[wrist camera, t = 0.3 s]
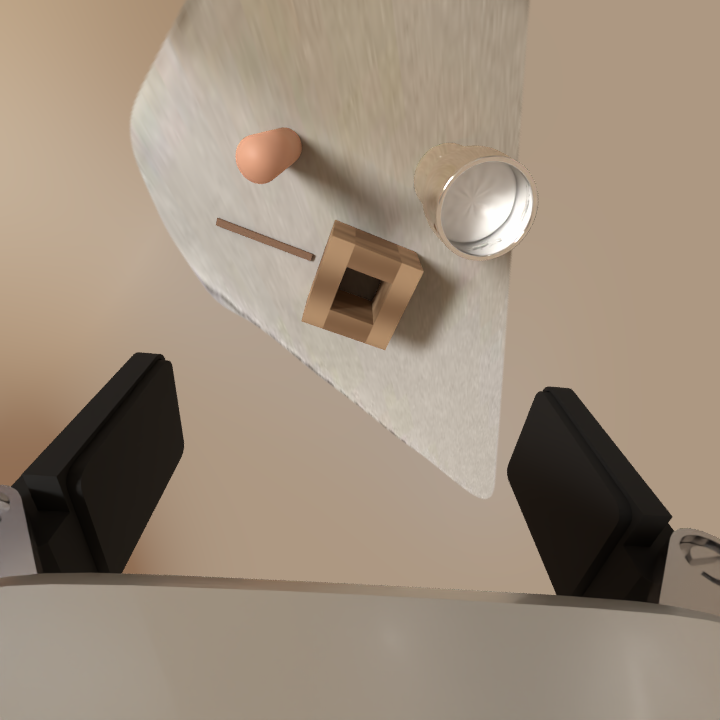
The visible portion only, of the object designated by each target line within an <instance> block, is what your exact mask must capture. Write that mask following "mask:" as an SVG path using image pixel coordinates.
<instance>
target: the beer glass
mask: <svg viewBox="0 0 720 720" xmlns="http://www.w3.org/2000/svg"><path fill="white" fill-rule="evenodd" d="M414 188H415V192H416V195H417V197H418V198H419V200H420V201H421V202H422V204H423V210H424V214H425V217H426V219H427V221H428V224H429V226H430V227H431V229H432V230H433V232H434V233H435V234H436V236H437V237H438V238H439V239H440V240H441V241H442V242H443V243H444V244H445V245H446V246H447V247H448V248H449V249H450V250H451V251H452V252H453V253H455V254H456V255H458V256H460V257H462V258H465V259H468V260H475V261H483V260H490V259H494V258H497V257H499V256H502V255H504V254H506V253H507V252H509V251H510V250H512V249H513V248H514V247H516V246H517V245H518V244H519V243H520V242H521V241H522V240H523V238H524V237H525V236H526V234H527V233H528V232H529V230H530V228H531V226H532V224H533V222H534V220H535V217H536V213H537V208H538V191H537V187H536V183H535V181H534V179H533V177H532V175H531V174H530V172H529V171H528V169H527V168H526V167H525V166H523V165H522V164H521V163H520V162H518V161H516V160H514V159H512V158H511V157H509V156H508V155H506V154H504V153H502V152H500V151H498V150H496V149H493V148H490V147H485V146H477V145H472V146H465V147H464V146H462V145H459V144H456V143H443V144H439V145H437V146H435V147H433V148H431V149H430V150H428V151H427V152H426V153H425V154H424V155H423V157H422V158H421V159H420V161H419V163H418V165H417V167H416V170H415V174H414Z"/></svg>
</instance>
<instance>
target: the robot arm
mask: <svg viewBox="0 0 720 720" xmlns="http://www.w3.org/2000/svg"><path fill="white" fill-rule="evenodd" d="M183 450H184V440H183V433H182V426H181V420H180V414H179V407H178V400H177V394H176V387H175V381H174V374H173V367H172V364H171V362H170V361H166V360H165V358H164V356H163V355H161V354H152V353H135V354H134V355H133V356H132V357H131V358H130V359H129V360H128V361H127V362H126V363H125V364H124V366H123V367H122V368H121V369H120V370H119V371H118V372H117V373H116V374H115V375H114V376H113V378H111V379H110V381H109V382H108V383H107V384H106V385H105V386H104V387H103V388H102V389H101V390H100V391H99V392H98V394H96V396H95V397H94V398H93V399H92V400H91V401H90V402H89V403H88V404H87V405H86V406H85V407H84V408H83V409H82V410H81V412H80V413H79V414H78V415H77V416H76V417H75V418H74V419H73V420H72V421H71V422H70V423H69V425H67V427H66V428H65V429H64V430H63V431H62V432H61V433H60V434H59V435H58V436H57V437H56V438H55V439H54V440H53V442H52V443H51V444H50V445H49V446H48V447H47V448H46V449H45V450H44V451H43V452H42V453H41V454H40V455H39V457H38V458H37V459H36V460H35V461H34V462H33V463H32V464H31V465H30V466H29V467H28V468H27V469H26V470H25V471H24V473H23V474H22V475H21V477H20V478H19V479H18V480H17V481H16V482H15V483H14V484H13V485H12V486H11V487H10V486H6V485H0V720H720V539H719V538H717V537H715V536H713V535H710V534H708V533H705V532H703V531H699V530H695V529H691V528H681V529H678V530H676V531H674V530H673V529H672V528H671V526H670V525H669V524H668V522H669V521H670V519H671V518H672V515H671V514H670V513H669V512H668V510H667V509H666V508H665V507H664V506H663V504H662V503H661V502H660V500H659V499H658V498H657V497H656V495H655V494H654V493H653V492H652V490H651V489H650V488H649V486H648V485H647V484H646V483H645V481H644V480H643V479H642V478H641V476H640V475H639V474H638V472H637V471H636V470H635V469H634V467H633V466H632V465H631V464H630V462H629V461H628V460H627V458H626V457H625V456H624V455H623V454H622V452H621V451H620V450H619V448H618V447H617V446H616V445H615V443H614V442H613V441H612V440H611V438H610V437H609V436H608V434H607V433H606V432H605V431H604V429H602V427H601V426H600V425H599V423H598V422H597V420H596V419H595V418H594V417H593V415H592V414H591V413H590V412H589V410H588V409H587V408H586V407H585V405H584V404H583V403H582V401H581V400H580V399H579V398H578V396H577V395H576V394H575V393H574V391H573V390H571V389H569V388H560V387H546V388H545V389H544V390H543V391H540V392H538V393H537V394H536V396H535V398H534V401H533V403H532V406H531V408H530V411H529V413H528V416H527V419H526V421H525V424H524V426H523V429H522V431H521V434H520V436H519V439H518V442H517V444H516V446H515V449H514V452H513V454H512V457H511V459H510V462H509V464H508V468H507V476H508V480H509V482H510V485H511V487H512V489H513V492H514V494H515V497H516V499H517V501H518V504H519V506H520V509H521V511H522V513H523V516H524V518H525V521H526V523H527V525H528V528H529V530H530V532H531V535H532V537H533V539H534V542H535V544H536V547H537V549H538V552H539V554H540V556H541V559H542V561H543V563H544V566H545V568H546V571H547V573H548V575H549V578H550V580H551V583H552V585H553V587H554V590H555V592H556V595H543V594H525V593H508V592H492V591H474V590H455V589H440V588H421V587H401V586H383V585H363V584H345V583H326V582H305V581H286V580H264V579H243V578H222V577H201V576H178V575H150V574H149V575H148V574H121V573H122V572H123V570H124V568H125V566H126V564H127V562H128V560H129V558H130V556H131V554H132V552H133V550H134V548H135V546H136V544H137V543H138V541H139V539H140V537H141V535H142V533H143V531H144V529H145V527H146V525H147V523H148V521H149V519H150V517H151V515H152V513H153V511H154V509H155V507H156V505H157V504H158V501H159V500H160V498H161V496H162V494H163V492H164V490H165V488H166V486H167V484H168V482H169V480H170V478H171V476H172V474H173V472H174V470H175V468H176V467H177V465H178V463H179V461H180V459H181V457H182V454H183Z"/></svg>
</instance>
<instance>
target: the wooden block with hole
mask: <svg viewBox="0 0 720 720" xmlns="http://www.w3.org/2000/svg"><path fill="white" fill-rule="evenodd" d="M346 267H348V268H351V269H353V270H356V271H359V272H361V273H364V274H366V275H369V276H372V277H374V278H377V279H380V280H381V282H380V284H379V286H378V288H377V291H376V293H375V295H374V298H373V300H372V301H370V300H367V299H365V298H362V297H359V296H357V295H354V294H351V293H348V292H346V291H343V290H340V289H338V287H339V285H340V282H341V280H342V277H343V275H344V272H345V269H346ZM423 272H424V271H423V269H422V266H421V264H420V261H419V258H418V256H417V253H416V252H414V251H411V250H409V249H407V248H404V247H402V246H399V245H397V244H394V243H392V242H389V241H387V240H384V239H382V238H379V237H377V236H374V235H372V234H369V233H367V232H364V231H362V230H359V229H357V228H354V227H352V226H349V225H347V224H344V223H342V222H340V221H337V220H335V222H334V225H333V228H332V230H331V233H330V236H329V239H328V242H327V245H326V247H325V250H324V253H323V256H322V259H321V262H320V264H319V267H318V270H317V273H316V276H315V279H314V281H313V284H312V287H311V290H310V293H309V296H308V299H307V302H306V306H305V310H304V313H303V317H302V322H305V323H308V324H311V325H314V326H317V327H320V328H323V329H326V330H328V331H331V332H334V333H337V334H340V335H343V336H346V337H349V338H352V339H354V340H357V341H360V342H363V343H366V344H369V345H372V346H375V347H377V348H380V349H383V350H385V349H386V347H387V345H388V343H389V341H390V339H391V337H392V335H393V333H394V331H395V329H396V327H397V325H398V323H399V321H400V319H401V317H402V315H403V313H404V311H405V309H406V307H407V305H408V303H409V300H410V298H411V296H412V294H413V292H414V290H415V288H416V286H417V284H418V282H419V280H420V278H421V276H422V274H423Z"/></svg>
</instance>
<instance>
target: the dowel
mask: <svg viewBox="0 0 720 720" xmlns="http://www.w3.org/2000/svg"><path fill="white" fill-rule="evenodd" d="M301 151H302V144H301V140H300V138H299V136H298V135H297V134H296V133H295V132H294V131H293V130H291V129H289V128H279V129H274V130H270V131H266V132H261V133H257V134H253V135H249V136H247V137H245V138H244V139H242V140H241V142H240V143H239V145H238V147H237V150H236V163H237V166H238V168H239V170H240V172H241V173H242V175H243V176H244V177H245V178H247V179H248V180H249V181H251V182H254V183H258V184H264V183H268V182H270V181H272V180H273V179H274V178H275V177H277V176H278V175H279V174H280V173H282V172H283V171H284V170H285V169H287V168H288V167H289V166H290V165H292V164H293V163H294V162H295V161H296V160H297V159H298V158H299V157H300V155H301Z"/></svg>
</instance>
